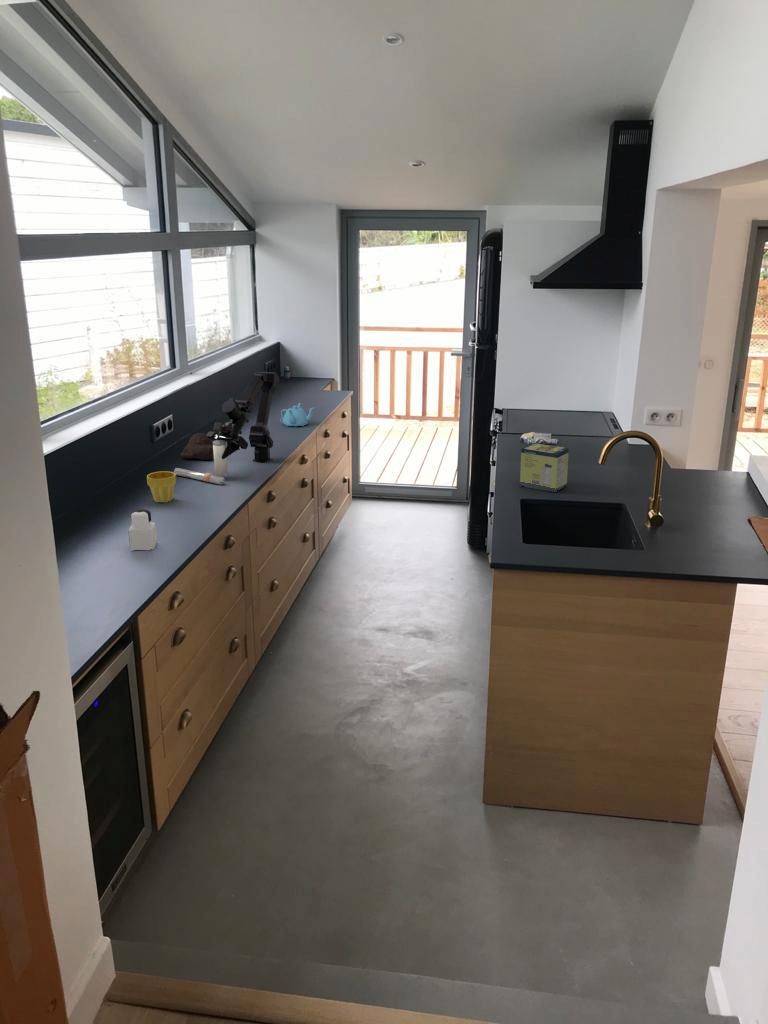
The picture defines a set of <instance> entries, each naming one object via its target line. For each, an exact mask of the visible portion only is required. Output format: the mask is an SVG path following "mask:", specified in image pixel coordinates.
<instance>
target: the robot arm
mask: <svg viewBox="0 0 768 1024" xmlns="http://www.w3.org/2000/svg"><path fill="white" fill-rule="evenodd" d="M279 383H280V376H279V375H278V373H277V372H274V371H273V372H271V371H269V372H268V371H255V372H253V374H252V378H251V380H250V382H249V383H248V385H247V387H246V388H245V390H244V392H242V393H241V394H239V395H238V396H237V397H236V398H235V399H234V398H231V397H230V398H228V400H226V401H224V403H222V404H221V410H222V411H223V413H224V414H225V415H226V418H228V419H229V421H228V422H225V423H223V422H222V423H221V422H217V421H216V422H214V425H213V431H208V432H207V433H206V434H207V435H206V437H207V438H209V439H210V440H211V441H212V442H213V441H215V440H225V443H226V449H225V451H224V453H223V455H222V459H225V458H226V457H227V458H228V457H229V456H231V455H232V454H234V453H235V452H237V451H239V450H247V448H248V446H250V447H251V448H254V459H252V462H256V463H267V462H270V461H273V460H274V458H271V453H270V451H271V449H272V448H273V447H274V440H273V439H272V438H271V434H270V433H271V432H270V429H269V427H268V424H269V423H268V422H269V418H270V417H269V416H270V410H271V405H272V404H271V403H272V399H273V398H272V397H273V393H274V392H275V391H276V390H277V389H278V386H279ZM259 392H260V397H259V404H258V410H257V415H256V420H255V421H256V422H255V423H254V425H251V426H250V428H249V429H250V430H249V435H248V440H249V442H248V441H247V440H246V438H244V437H243V436H241V435H242V433H243V431H242V429H243V427H244V425H245V423H247V424H248V423H249V422H250V421H249V415H246V414H251V413H252V411H253V410H254V407H255V399H256V397H257V395H258V393H259ZM216 431H217V432H216ZM249 444H250V445H249ZM212 457H214V453H213V452H212Z"/></svg>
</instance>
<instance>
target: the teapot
mask: <svg viewBox="0 0 768 1024" xmlns="http://www.w3.org/2000/svg"><path fill="white" fill-rule="evenodd" d="M315 408H316V407H310V408H309V410H308V411H309V412H308V414H307V412H306V411H305V410H304V409H303V407H301V402H298V403H297V405H293V406H292V407H289V408H287V409H281V411H280V415H281V418H280V419H279V421H280V423H283V425H284V424H285V425H287V426H303V427H305V426H304V425H306V424H307V425H308V424H309V421H310V420H311V419H312V413H313V410H314V409H315ZM283 412H285V413H284V414H283ZM285 425H284V426H285ZM307 425H306V426H307ZM287 426H286V427H287Z"/></svg>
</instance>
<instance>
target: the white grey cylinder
mask: <svg viewBox="0 0 768 1024" xmlns="http://www.w3.org/2000/svg"><path fill="white" fill-rule="evenodd" d="M226 447H227V442H225V440H215V441H213V453H214V459H213V465H214V475H226V474H228V459H227V458H228V457H226V458H225V459H222V455H223V453H224V451H225V449H226Z"/></svg>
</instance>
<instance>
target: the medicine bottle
mask: <svg viewBox="0 0 768 1024" xmlns="http://www.w3.org/2000/svg"><path fill="white" fill-rule="evenodd" d="M130 523H131V525H130V527H129V528H128V541H129V549H130V551H131V552H134V551H133V550H146V549H154V550H155V548H156V546H157V544H158V535H157V526H156V522H154V521H152V515H151V511H150V510H149V509H146V508H145V509H144V508H142V509H141V508H140V509H139V508H138V509H135V510H133V511H132V512H130ZM156 543H157V544H156ZM155 545H156V546H155ZM154 547H155V548H154Z"/></svg>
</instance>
